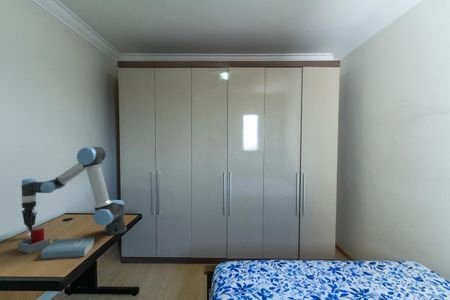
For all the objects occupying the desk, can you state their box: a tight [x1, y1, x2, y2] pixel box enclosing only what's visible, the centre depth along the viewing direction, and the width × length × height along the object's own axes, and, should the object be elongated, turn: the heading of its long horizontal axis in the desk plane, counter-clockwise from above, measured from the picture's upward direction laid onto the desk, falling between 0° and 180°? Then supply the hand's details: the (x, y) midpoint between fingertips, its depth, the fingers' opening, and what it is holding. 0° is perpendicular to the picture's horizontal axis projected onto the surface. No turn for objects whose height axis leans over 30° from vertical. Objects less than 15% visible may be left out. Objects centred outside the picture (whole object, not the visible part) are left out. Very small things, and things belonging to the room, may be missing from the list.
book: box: [40, 237, 95, 260], centre depth 144 cm, size 23×16×5 cm
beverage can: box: [30, 225, 45, 244], centre depth 149 cm, size 7×7×12 cm
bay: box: [17, 237, 59, 255], centre depth 149 cm, size 14×15×5 cm
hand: (29, 235), depth 163 cm, fingers closed
